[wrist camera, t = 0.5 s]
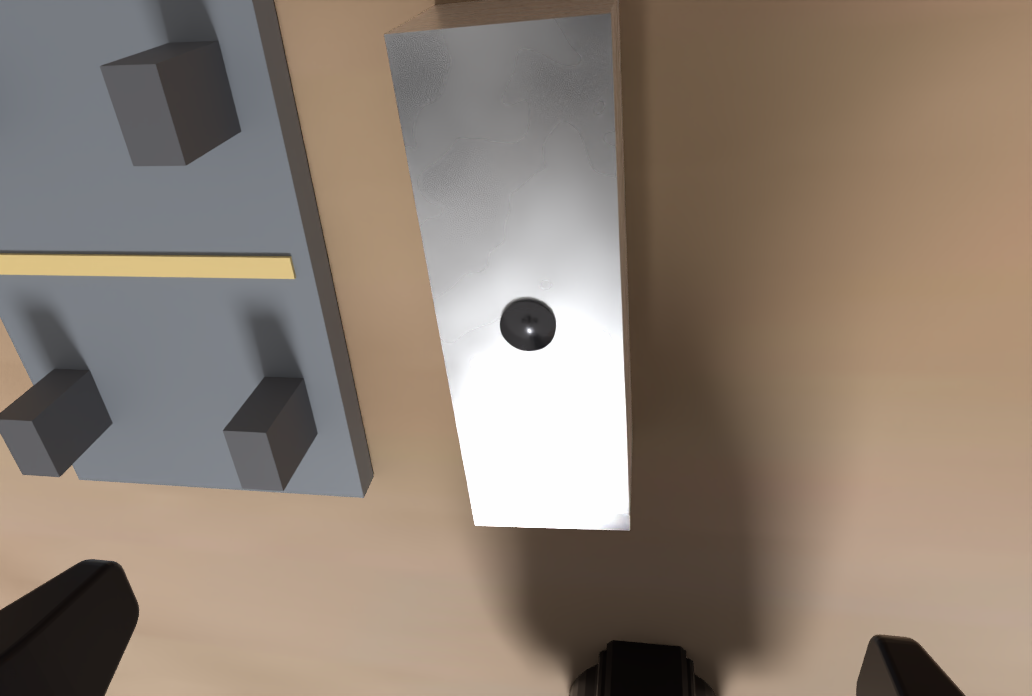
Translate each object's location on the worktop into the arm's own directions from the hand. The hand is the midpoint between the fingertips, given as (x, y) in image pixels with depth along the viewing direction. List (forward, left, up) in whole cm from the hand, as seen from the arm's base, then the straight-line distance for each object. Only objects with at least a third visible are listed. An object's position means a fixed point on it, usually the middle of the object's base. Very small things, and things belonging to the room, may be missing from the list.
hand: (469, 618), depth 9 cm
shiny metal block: (-1, 0, -12) cm, 12 cm away
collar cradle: (-1, +11, -12) cm, 16 cm away
